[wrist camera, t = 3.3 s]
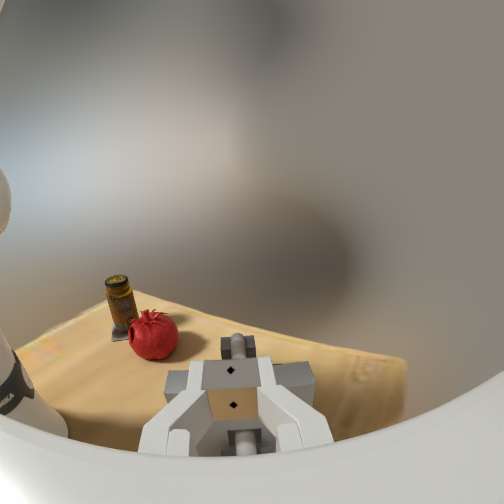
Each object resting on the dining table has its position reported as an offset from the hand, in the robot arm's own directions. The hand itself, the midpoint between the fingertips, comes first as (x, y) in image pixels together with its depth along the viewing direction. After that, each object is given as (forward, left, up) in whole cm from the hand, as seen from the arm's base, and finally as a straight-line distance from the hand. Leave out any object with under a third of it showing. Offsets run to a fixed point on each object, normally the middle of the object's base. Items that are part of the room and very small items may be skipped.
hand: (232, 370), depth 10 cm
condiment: (+8, +48, -26) cm, 55 cm away
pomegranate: (+10, +37, -26) cm, 46 cm away
